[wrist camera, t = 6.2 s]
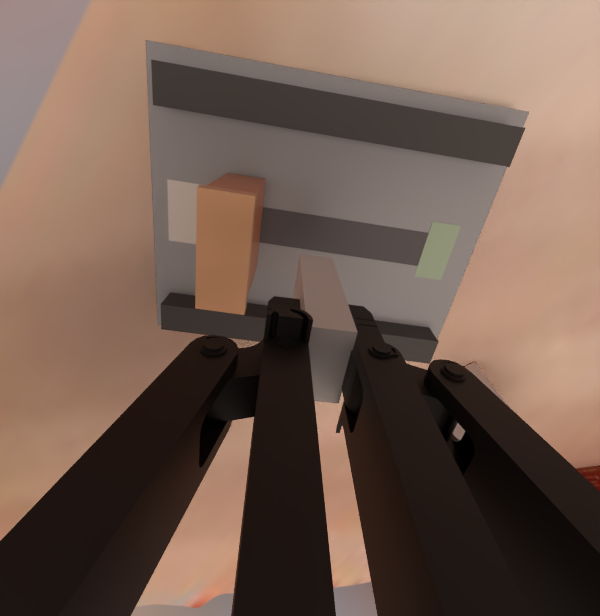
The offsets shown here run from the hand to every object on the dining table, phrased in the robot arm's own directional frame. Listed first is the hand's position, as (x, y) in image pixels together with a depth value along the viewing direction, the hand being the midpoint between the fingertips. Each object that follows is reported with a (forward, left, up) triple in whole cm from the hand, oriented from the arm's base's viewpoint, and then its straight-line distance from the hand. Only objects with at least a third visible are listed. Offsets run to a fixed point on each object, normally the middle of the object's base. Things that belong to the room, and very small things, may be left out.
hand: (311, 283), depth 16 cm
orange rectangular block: (-4, 0, -8) cm, 9 cm away
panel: (+1, 0, -10) cm, 10 cm away
